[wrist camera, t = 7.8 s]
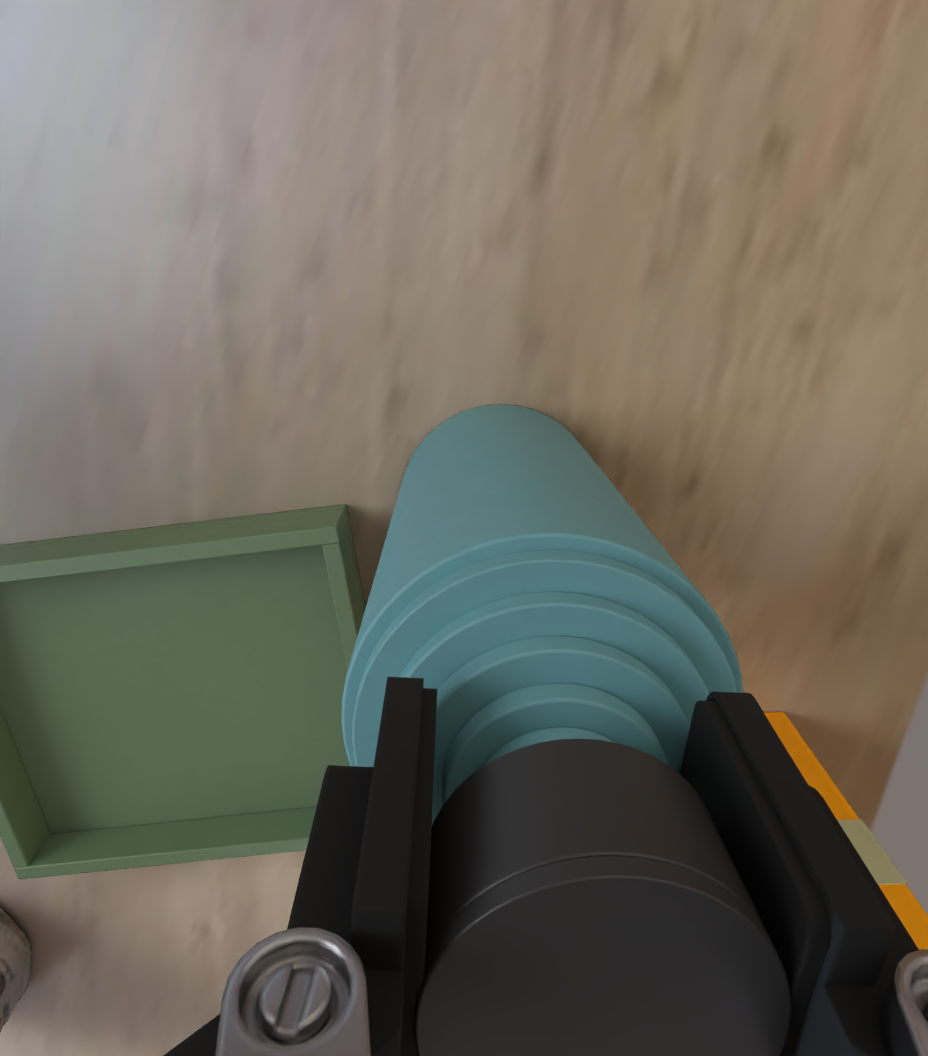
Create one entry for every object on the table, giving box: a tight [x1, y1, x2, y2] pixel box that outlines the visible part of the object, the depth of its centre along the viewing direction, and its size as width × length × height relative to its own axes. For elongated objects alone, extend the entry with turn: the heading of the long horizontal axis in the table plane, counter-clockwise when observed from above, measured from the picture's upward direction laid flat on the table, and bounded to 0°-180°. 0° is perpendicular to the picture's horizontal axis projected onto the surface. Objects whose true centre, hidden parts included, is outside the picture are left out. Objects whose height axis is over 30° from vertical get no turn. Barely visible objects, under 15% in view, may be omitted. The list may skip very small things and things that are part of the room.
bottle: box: [341, 404, 743, 827], centre depth 17 cm, size 7×7×19 cm
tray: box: [0, 504, 366, 879], centre depth 28 cm, size 13×15×2 cm
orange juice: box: [764, 712, 928, 950], centre depth 22 cm, size 8×9×20 cm
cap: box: [414, 738, 791, 1056], centre depth 9 cm, size 4×4×2 cm
